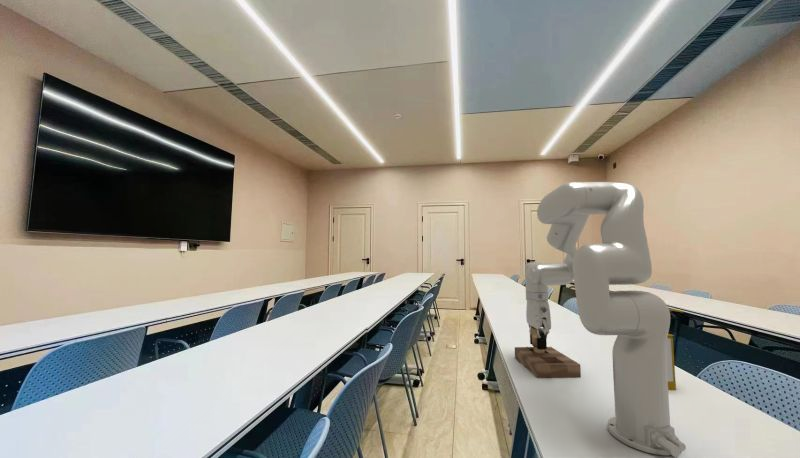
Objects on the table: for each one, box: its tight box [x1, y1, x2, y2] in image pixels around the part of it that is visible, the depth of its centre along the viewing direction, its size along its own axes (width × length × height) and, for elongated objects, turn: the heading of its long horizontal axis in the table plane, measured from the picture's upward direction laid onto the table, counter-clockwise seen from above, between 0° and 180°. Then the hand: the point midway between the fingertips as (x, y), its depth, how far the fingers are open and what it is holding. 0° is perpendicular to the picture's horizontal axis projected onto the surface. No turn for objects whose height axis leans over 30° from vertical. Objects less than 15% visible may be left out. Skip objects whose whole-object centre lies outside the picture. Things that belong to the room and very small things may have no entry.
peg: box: [531, 327, 545, 354], centre depth 111 cm, size 4×4×10 cm
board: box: [514, 346, 582, 379], centre depth 107 cm, size 18×14×4 cm
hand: (538, 346), depth 111 cm, fingers closed on peg, 4 cm apart
